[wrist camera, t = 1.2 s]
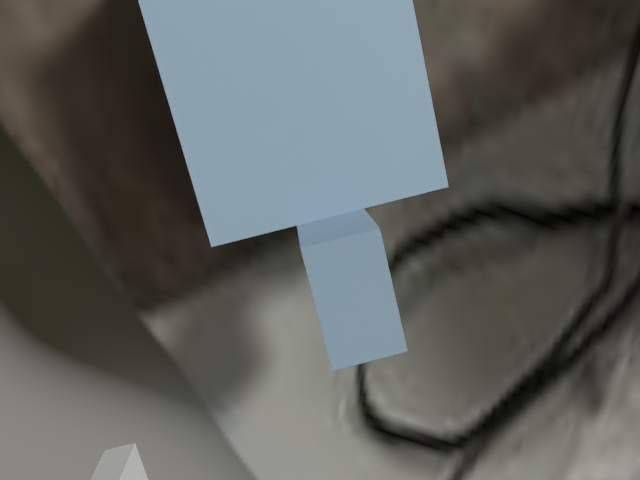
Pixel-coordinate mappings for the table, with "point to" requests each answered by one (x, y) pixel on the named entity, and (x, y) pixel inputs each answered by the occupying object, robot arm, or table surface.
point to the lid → (305, 138)
